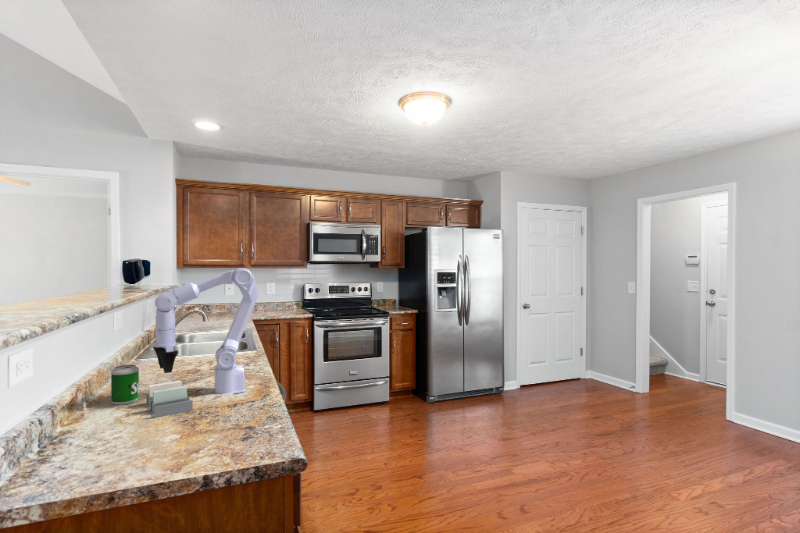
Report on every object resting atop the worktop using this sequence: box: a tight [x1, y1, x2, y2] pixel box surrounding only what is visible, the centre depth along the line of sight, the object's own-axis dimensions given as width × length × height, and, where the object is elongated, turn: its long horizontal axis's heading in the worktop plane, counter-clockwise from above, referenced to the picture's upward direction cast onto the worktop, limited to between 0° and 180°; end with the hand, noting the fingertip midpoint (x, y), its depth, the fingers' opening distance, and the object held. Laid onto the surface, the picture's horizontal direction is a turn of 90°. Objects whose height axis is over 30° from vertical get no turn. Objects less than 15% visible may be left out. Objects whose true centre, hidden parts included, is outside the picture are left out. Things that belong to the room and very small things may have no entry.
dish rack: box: [144, 393, 195, 419], centre depth 131 cm, size 11×16×4 cm
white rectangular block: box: [148, 380, 183, 397], centre depth 136 cm, size 9×2×6 cm, turn 128°
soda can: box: [110, 364, 140, 406], centre depth 137 cm, size 8×8×12 cm
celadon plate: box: [153, 385, 188, 403], centre depth 130 cm, size 9×2×6 cm, turn 128°
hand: (165, 370), depth 140 cm, fingers open, 7 cm apart
